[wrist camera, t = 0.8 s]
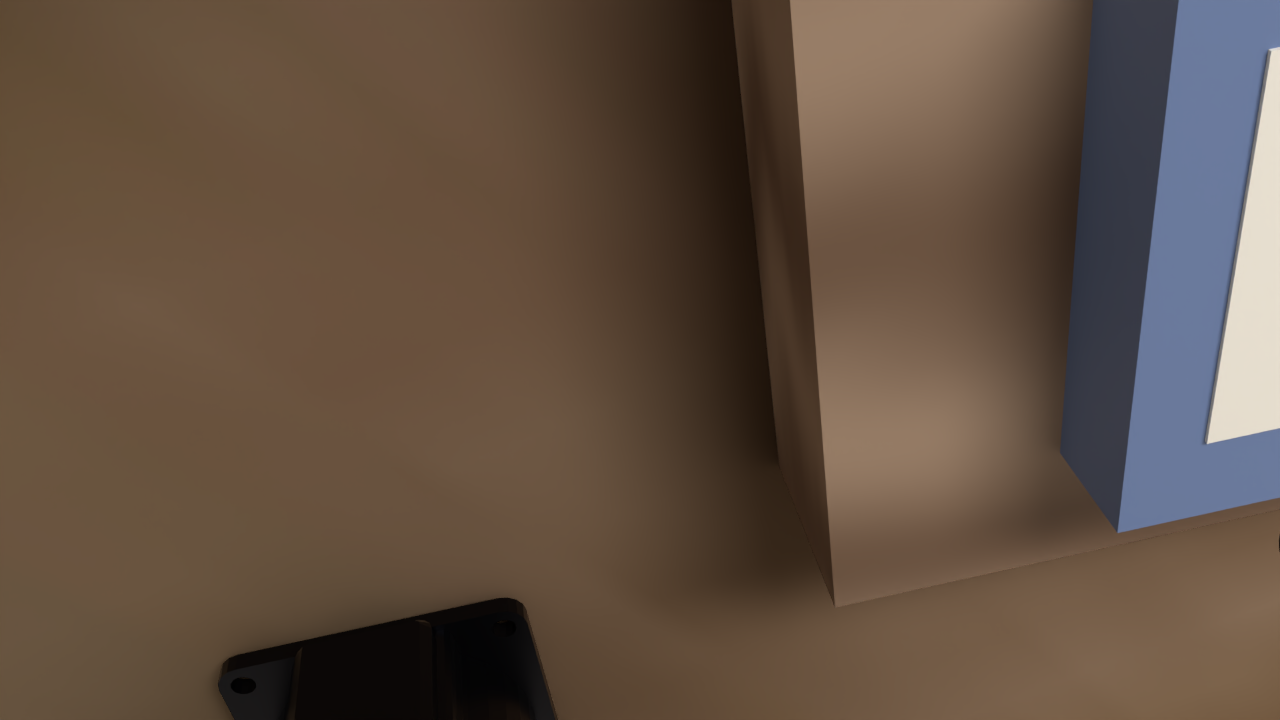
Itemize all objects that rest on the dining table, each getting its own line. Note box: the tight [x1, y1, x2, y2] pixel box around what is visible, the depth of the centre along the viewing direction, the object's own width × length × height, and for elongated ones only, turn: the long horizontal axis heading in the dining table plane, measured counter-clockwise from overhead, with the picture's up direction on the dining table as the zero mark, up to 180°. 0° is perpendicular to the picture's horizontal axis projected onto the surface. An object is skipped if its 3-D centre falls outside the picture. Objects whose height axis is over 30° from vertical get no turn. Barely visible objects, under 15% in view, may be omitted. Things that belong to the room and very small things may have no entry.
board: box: [731, 0, 1280, 608], centre depth 19 cm, size 14×16×4 cm
